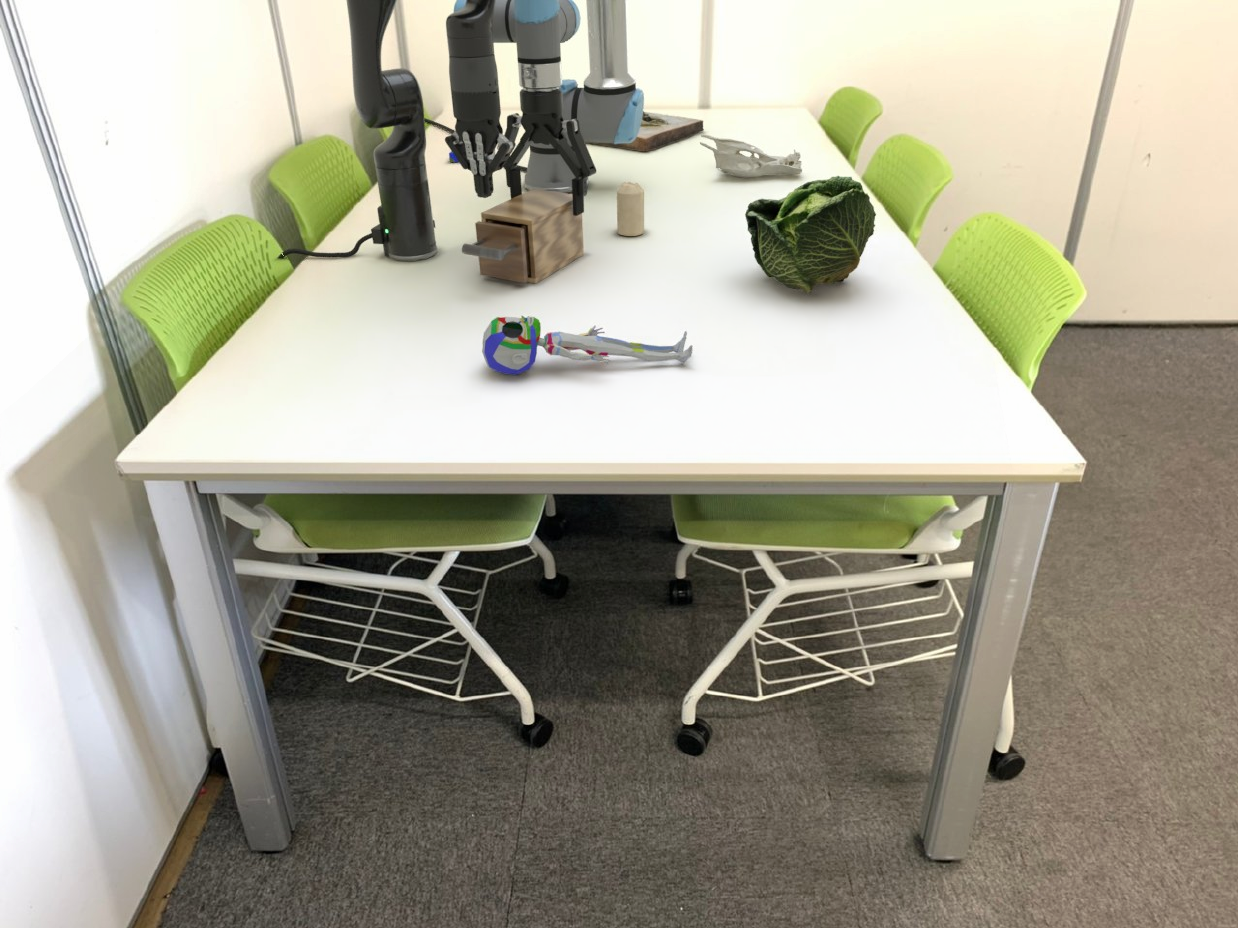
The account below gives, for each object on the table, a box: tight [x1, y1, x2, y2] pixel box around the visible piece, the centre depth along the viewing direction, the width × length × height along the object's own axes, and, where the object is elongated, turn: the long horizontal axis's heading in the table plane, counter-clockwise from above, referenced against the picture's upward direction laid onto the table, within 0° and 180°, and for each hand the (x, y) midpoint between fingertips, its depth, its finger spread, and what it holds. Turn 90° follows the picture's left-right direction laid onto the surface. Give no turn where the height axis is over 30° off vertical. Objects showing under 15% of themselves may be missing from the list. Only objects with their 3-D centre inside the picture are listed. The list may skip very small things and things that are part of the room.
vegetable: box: [744, 175, 877, 294], centre depth 154 cm, size 20×19×20 cm
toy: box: [481, 315, 694, 376], centre depth 131 cm, size 10×8×30 cm
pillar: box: [448, 150, 459, 163], centre depth 243 cm, size 2×2×20 cm
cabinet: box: [480, 189, 585, 284], centre depth 166 cm, size 17×11×11 cm, turn 152°
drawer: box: [461, 219, 531, 284], centre depth 162 cm, size 22×10×10 cm, turn 152°
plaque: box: [585, 110, 705, 152], centre depth 257 cm, size 30×7×30 cm
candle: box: [616, 181, 645, 237], centre depth 181 cm, size 6×6×10 cm
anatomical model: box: [699, 133, 803, 178], centre depth 218 cm, size 15×9×25 cm
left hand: (485, 196), depth 150 cm, fingers closed
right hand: (547, 209), depth 168 cm, fingers open, 13 cm apart
